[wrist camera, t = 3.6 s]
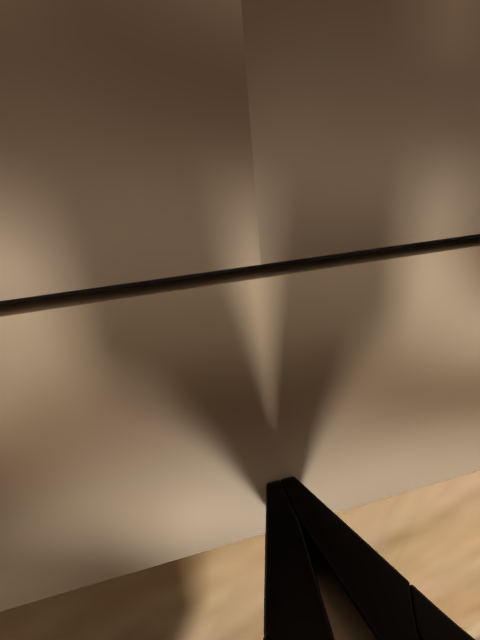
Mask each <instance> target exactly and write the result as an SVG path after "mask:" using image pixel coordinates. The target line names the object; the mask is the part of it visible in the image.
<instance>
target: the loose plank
mask: <svg viewBox="0 0 480 640" xmlns="http://www.w3.org/2000/svg"><path fill="white" fill-rule="evenodd" d="M477 471H480V237H478V238H471V239H464V240H457V241H450V242H443V243H436V244H429V245H422V246H415V247H408V248H401V249H394V250H387V251H380V252H373V253H365V254H358V255H351V256H344V257H337V258H330V259H323V260H316V261H309V262H302V263H295V264H288V265H281V266H274V267H267V268H260V269H253V270H246V271H239V272H232V273H225V274H218V275H211V276H204V277H197V278H190V279H183V280H175V281H168V282H161V283H154V284H147V285H140V286H133V287H126V288H119V289H112V290H105V291H98V292H91V293H84V294H77V295H70V296H63V297H56V298H49V299H42V300H35V301H28V302H21V303H14V304H7V305H0V612H1V611H4V610H8V609H11V608H15V607H18V606H21V605H25V604H28V603H32V602H35V601H38V600H42V599H45V598H49V597H52V596H55V595H59V594H62V593H66V592H69V591H72V590H76V589H79V588H83V587H86V586H89V585H93V584H96V583H100V582H103V581H106V580H110V579H113V578H117V577H120V576H123V575H127V574H130V573H134V572H137V571H140V570H144V569H147V568H151V567H154V566H157V565H161V564H164V563H168V562H171V561H174V560H178V559H181V558H185V557H188V556H191V555H195V554H198V553H202V552H205V551H208V550H212V549H215V548H219V547H222V546H225V545H229V544H232V543H236V542H239V541H242V540H246V539H249V538H252V537H256V536H259V535H263V534H265V526H266V484H267V483H268V482H272V481H276V480H279V481H280V482H281V480H282V479H284V478H287V477H291V476H293V477H296V478H297V479H298V480H299V481H300V482H301V483H302V484H303V485H304V486H305V487H307V488H308V489H309V490H310V491H311V492H312V493H313V494H314V495H315V496H316V497H317V498H319V499H320V500H321V501H322V502H323V503H324V504H325V505H326V506H327V507H328V508H329V509H331V510H332V511H333V512H334V513H337V512H341V511H344V510H348V509H351V508H354V507H358V506H361V505H365V504H368V503H371V502H375V501H378V500H382V499H385V498H388V497H392V496H395V495H399V494H402V493H405V492H409V491H412V490H416V489H419V488H422V487H426V486H429V485H433V484H436V483H439V482H443V481H446V480H450V479H453V478H456V477H460V476H463V475H467V474H470V473H473V472H477Z"/></svg>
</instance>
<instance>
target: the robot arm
mask: <svg viewBox="0 0 480 640" xmlns="http://www.w3.org/2000/svg"><path fill="white" fill-rule="evenodd" d="M263 640H475V639H474V638H473V637H471V636H470V635H469V634H468V633H467V632H465V631H464V630H463V629H462V628H460V627H459V626H458V625H457V624H456V623H455V622H453V621H452V620H451V619H450V618H449V617H448V616H447V615H445V614H444V613H443V612H442V611H441V610H440V609H439V608H437V607H436V606H435V605H434V604H433V603H432V602H431V601H430V600H429V599H427V598H426V597H425V596H424V595H423V594H422V593H421V592H420V591H419V590H418V589H417V588H416V587H414V586H413V585H410V583H409V581H408V580H407V579H406V578H404V577H403V576H402V575H401V574H400V573H399V572H398V571H397V570H396V569H395V568H394V567H393V566H391V565H390V564H389V563H388V562H387V561H386V560H385V559H384V558H383V557H382V556H381V555H379V554H378V553H377V552H376V551H375V550H374V549H373V548H372V547H371V546H370V545H369V544H368V543H366V542H365V541H364V540H363V539H362V538H361V537H360V536H359V535H358V534H357V533H356V532H354V531H353V530H352V529H351V528H350V527H349V526H348V525H347V524H346V523H345V522H344V521H342V520H341V519H340V518H339V517H338V516H337V515H336V514H335V513H334V512H333V511H332V510H331V509H329V508H328V507H327V506H326V505H325V504H324V503H323V502H322V501H321V500H320V499H319V498H317V497H316V496H315V495H314V494H313V493H312V492H311V491H310V490H309V489H308V488H307V487H305V486H304V485H303V484H302V483H301V482H300V481H299V480H298V479H297V478H296V477H293V476H291V477H287V478H284V479H282V480H281V482H280V481H279V480H276V481H272V482H268V483H267V484H266V526H265V586H264V638H263Z"/></svg>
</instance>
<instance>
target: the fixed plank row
mask: <svg viewBox="0 0 480 640" xmlns="http://www.w3.org/2000/svg"><path fill="white" fill-rule="evenodd" d="M476 234H480V0H0V301H4V300H11V299H19V298H26V297H33V296H40V295H47V294H54V293H61V292H69V291H76V290H83V289H90V288H97V287H104V286H111V285H119V284H126V283H133V282H140V281H147V280H154V279H161V278H169V277H176V276H183V275H190V274H197V273H204V272H211V271H219V270H226V269H233V268H240V267H247V266H254V265H262V264H269V263H276V262H283V261H290V260H297V259H304V258H312V257H319V256H326V255H333V254H340V253H347V252H354V251H362V250H369V249H376V248H383V247H390V246H397V245H404V244H412V243H419V242H426V241H433V240H440V239H447V238H454V237H462V236H469V235H476Z"/></svg>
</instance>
